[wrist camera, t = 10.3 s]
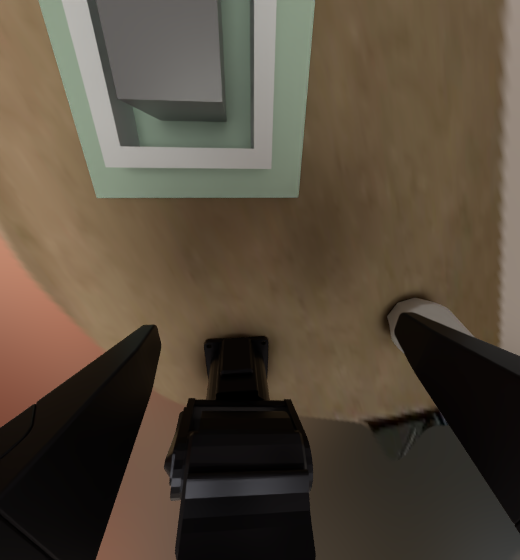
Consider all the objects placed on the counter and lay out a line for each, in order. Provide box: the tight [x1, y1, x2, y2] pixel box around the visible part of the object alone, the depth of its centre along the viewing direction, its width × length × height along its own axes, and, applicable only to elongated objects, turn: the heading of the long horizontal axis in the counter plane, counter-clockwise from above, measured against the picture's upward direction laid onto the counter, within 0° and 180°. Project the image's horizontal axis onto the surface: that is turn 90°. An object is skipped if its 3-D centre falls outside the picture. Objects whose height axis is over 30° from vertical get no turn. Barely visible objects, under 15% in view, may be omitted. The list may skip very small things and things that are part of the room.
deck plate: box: [38, 0, 315, 198], centre depth 12 cm, size 16×14×4 cm
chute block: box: [96, 0, 227, 122], centre depth 10 cm, size 7×4×6 cm, turn 179°
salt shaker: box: [387, 298, 474, 353], centre depth 19 cm, size 6×6×13 cm
